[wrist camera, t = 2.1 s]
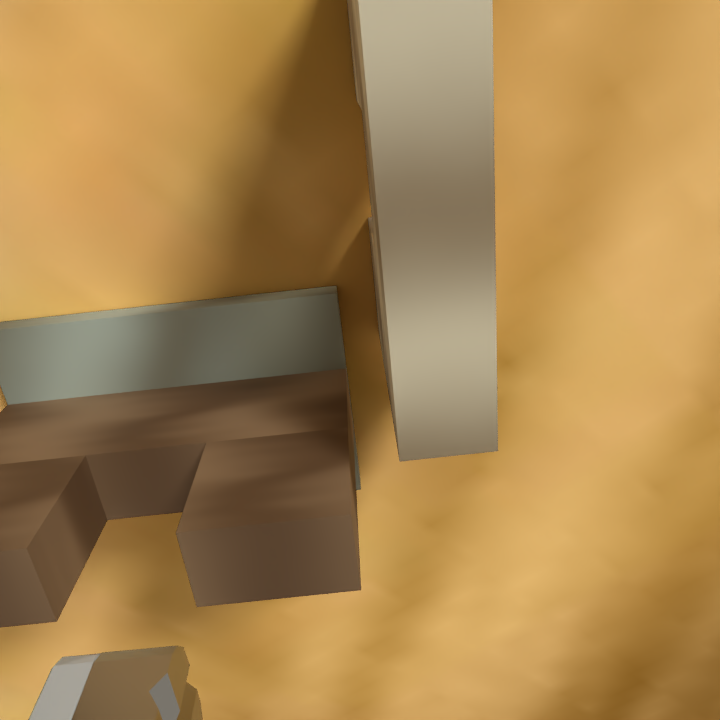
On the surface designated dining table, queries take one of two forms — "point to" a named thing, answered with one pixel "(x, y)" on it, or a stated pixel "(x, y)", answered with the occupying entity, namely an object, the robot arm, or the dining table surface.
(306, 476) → the walnut slotted plate
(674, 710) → the dining table surface
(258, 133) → the dining table surface
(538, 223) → the dining table surface
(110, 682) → the robot arm
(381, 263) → the maple slotted plate
